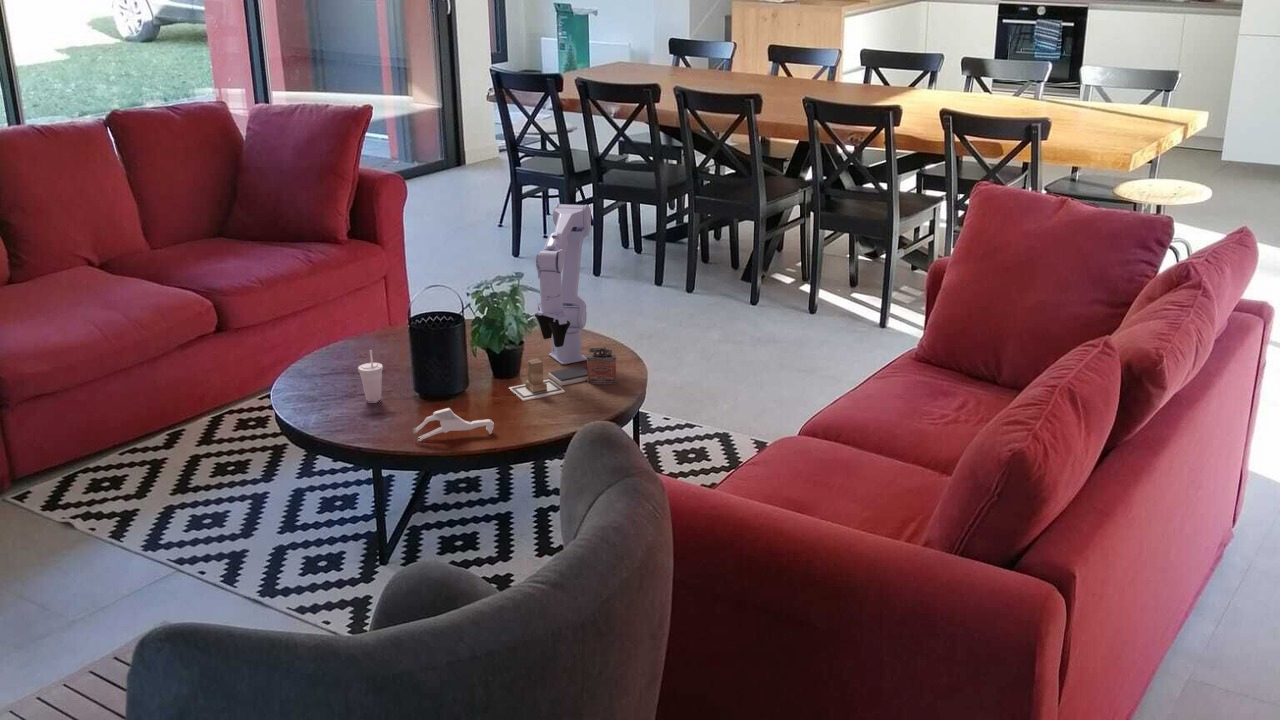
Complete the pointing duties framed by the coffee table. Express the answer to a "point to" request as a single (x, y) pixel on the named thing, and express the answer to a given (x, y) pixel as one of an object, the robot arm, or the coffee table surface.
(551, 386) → the marked card
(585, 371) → the ink pad
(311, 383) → the coffee table surface
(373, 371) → the smoothie
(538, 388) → the stamp
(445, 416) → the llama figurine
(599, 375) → the lighter
